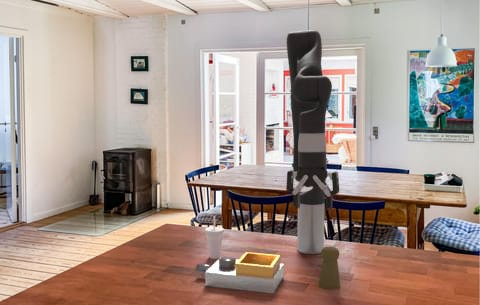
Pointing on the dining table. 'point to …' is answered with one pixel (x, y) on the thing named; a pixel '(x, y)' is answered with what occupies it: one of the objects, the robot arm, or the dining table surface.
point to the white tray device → (245, 272)
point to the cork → (329, 268)
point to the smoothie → (214, 240)
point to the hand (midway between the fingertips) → (312, 208)
